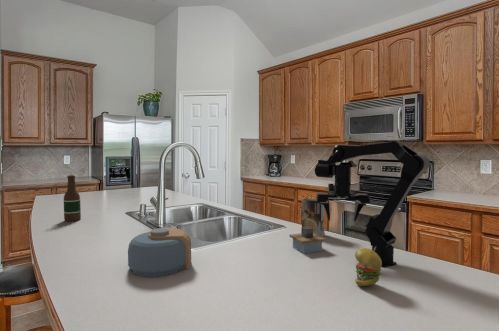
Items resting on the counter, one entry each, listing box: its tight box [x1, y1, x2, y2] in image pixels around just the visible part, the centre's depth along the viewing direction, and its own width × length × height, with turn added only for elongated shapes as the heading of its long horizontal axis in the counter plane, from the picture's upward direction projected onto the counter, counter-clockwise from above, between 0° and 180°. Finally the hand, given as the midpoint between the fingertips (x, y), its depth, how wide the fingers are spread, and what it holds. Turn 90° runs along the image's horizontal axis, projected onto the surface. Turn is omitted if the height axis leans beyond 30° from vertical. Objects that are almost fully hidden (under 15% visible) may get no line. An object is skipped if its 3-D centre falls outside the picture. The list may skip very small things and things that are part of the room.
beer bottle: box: [63, 174, 82, 223], centre depth 170 cm, size 8×8×24 cm
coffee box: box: [301, 197, 326, 238], centre depth 143 cm, size 9×6×16 cm
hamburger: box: [354, 247, 382, 287], centre depth 91 cm, size 8×7×12 cm
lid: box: [289, 226, 327, 244], centre depth 123 cm, size 10×10×4 cm
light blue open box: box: [292, 238, 323, 254], centre depth 123 cm, size 8×8×4 cm
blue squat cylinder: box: [127, 227, 192, 277], centre depth 106 cm, size 19×20×12 cm
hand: (341, 220), depth 119 cm, fingers open, 9 cm apart
